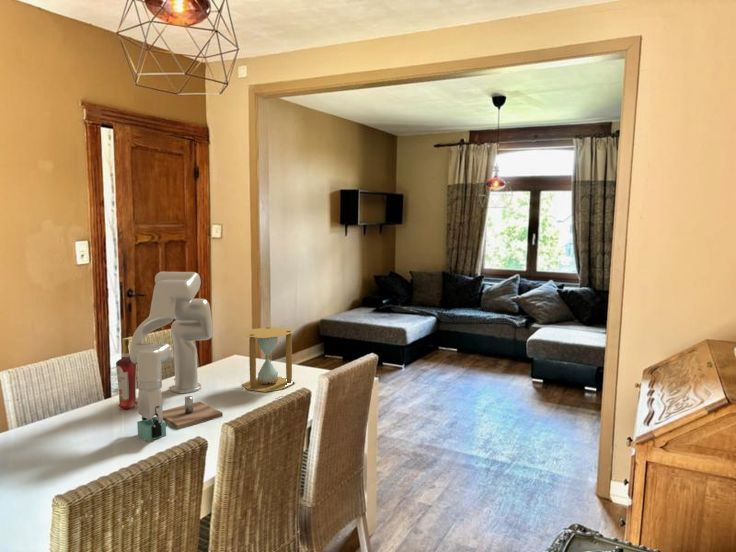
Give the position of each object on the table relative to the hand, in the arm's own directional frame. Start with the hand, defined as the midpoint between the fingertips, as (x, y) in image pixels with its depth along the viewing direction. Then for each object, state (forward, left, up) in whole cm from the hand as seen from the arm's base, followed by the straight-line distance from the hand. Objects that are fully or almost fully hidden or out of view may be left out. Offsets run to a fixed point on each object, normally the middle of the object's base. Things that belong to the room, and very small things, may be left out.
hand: (151, 433), depth 185 cm
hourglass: (-20, +63, -1) cm, 66 cm away
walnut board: (-8, +18, -1) cm, 20 cm away
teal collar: (0, 0, -1) cm, 1 cm away
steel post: (-8, +18, +1) cm, 20 cm away
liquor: (-34, +5, -1) cm, 34 cm away
